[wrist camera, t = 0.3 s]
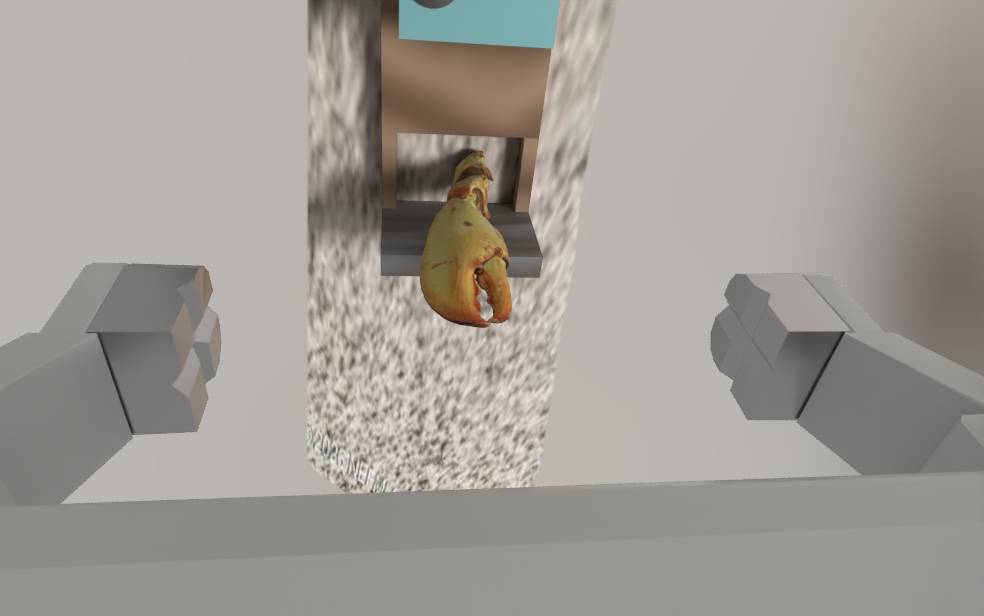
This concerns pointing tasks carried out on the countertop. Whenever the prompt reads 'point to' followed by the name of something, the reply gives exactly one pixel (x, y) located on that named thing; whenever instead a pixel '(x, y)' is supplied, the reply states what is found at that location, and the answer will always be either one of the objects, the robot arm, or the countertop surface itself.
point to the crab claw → (466, 252)
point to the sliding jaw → (480, 21)
